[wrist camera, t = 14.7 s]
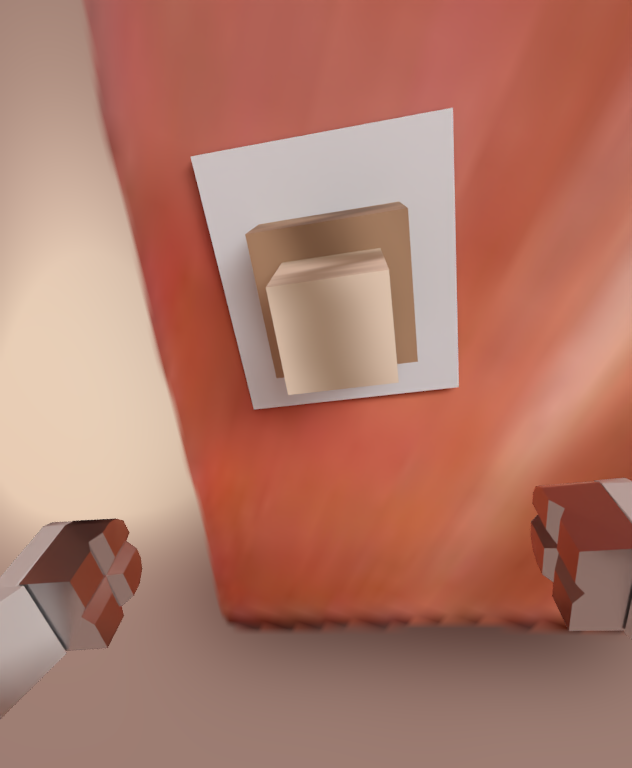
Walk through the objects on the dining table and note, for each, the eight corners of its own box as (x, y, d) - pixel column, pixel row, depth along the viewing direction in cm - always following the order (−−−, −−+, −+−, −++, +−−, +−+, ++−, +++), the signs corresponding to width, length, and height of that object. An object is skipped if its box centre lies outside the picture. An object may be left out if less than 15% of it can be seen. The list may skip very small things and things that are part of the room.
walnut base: (399, 201, 25) (407, 208, 21) (408, 336, 28) (417, 361, 25) (259, 224, 26) (245, 234, 22) (285, 351, 29) (276, 378, 26)
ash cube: (380, 247, 22) (388, 269, 18) (389, 341, 24) (398, 382, 20) (281, 262, 23) (265, 287, 18) (298, 353, 25) (288, 395, 20)
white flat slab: (450, 109, 23) (452, 107, 23) (456, 383, 30) (458, 387, 30) (193, 156, 25) (190, 156, 24) (255, 405, 32) (253, 409, 31)
